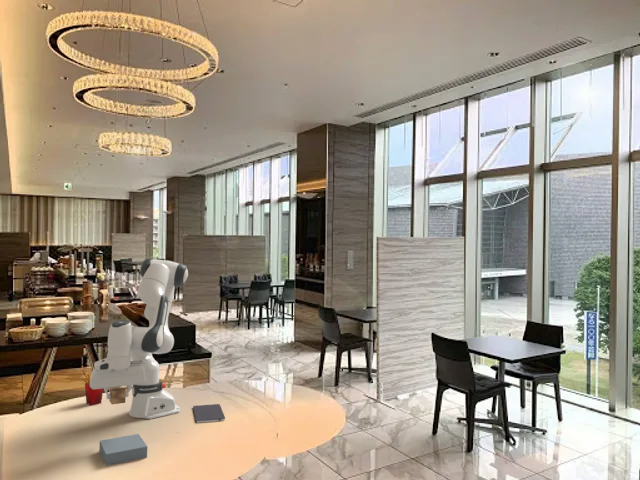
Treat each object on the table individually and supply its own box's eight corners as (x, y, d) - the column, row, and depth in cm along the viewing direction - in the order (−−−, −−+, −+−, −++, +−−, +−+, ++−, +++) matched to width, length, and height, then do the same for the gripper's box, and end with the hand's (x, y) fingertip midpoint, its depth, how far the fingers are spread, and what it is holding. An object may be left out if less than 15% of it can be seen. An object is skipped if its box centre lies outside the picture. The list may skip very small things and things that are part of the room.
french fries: (96, 400, 240) (97, 370, 241) (105, 403, 236) (107, 372, 236) (79, 404, 233) (80, 373, 234) (88, 408, 228) (89, 376, 229)
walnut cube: (122, 399, 194) (123, 386, 194) (125, 402, 189) (125, 389, 190) (109, 400, 191) (110, 388, 191) (111, 404, 187) (112, 391, 187)
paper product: (192, 409, 233) (196, 424, 213) (193, 405, 233) (196, 420, 213) (219, 407, 237) (225, 421, 217) (219, 403, 237) (225, 418, 217)
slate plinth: (138, 444, 188) (138, 433, 189) (147, 457, 177) (147, 446, 177) (99, 451, 181) (99, 440, 181) (105, 465, 169) (106, 454, 169)
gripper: (144, 358, 199) (142, 392, 199) (90, 363, 188) (88, 398, 187) (148, 361, 194) (146, 396, 193) (92, 366, 183) (90, 403, 182)
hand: (117, 397), depth 190 cm, fingers closed on walnut cube, 5 cm apart
